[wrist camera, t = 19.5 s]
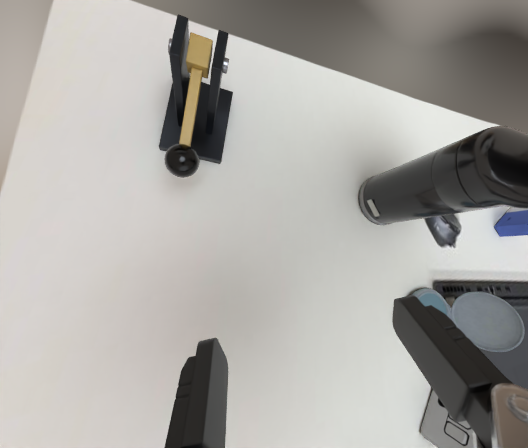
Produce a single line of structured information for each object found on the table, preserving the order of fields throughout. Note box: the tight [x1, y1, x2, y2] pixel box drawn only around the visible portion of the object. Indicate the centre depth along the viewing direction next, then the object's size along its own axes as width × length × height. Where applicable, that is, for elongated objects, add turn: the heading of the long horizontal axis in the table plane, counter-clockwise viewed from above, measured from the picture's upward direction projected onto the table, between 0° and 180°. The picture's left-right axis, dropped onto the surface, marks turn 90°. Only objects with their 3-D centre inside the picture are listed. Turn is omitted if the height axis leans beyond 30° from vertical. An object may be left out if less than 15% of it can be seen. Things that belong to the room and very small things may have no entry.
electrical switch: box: [421, 390, 474, 448], centre depth 40 cm, size 9×5×9 cm, turn 149°
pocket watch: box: [412, 288, 524, 352], centre depth 40 cm, size 10×11×15 cm
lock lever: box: [165, 33, 213, 178], centre depth 26 cm, size 14×4×4 cm, turn 171°
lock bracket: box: [159, 15, 233, 164], centre depth 30 cm, size 12×9×15 cm
